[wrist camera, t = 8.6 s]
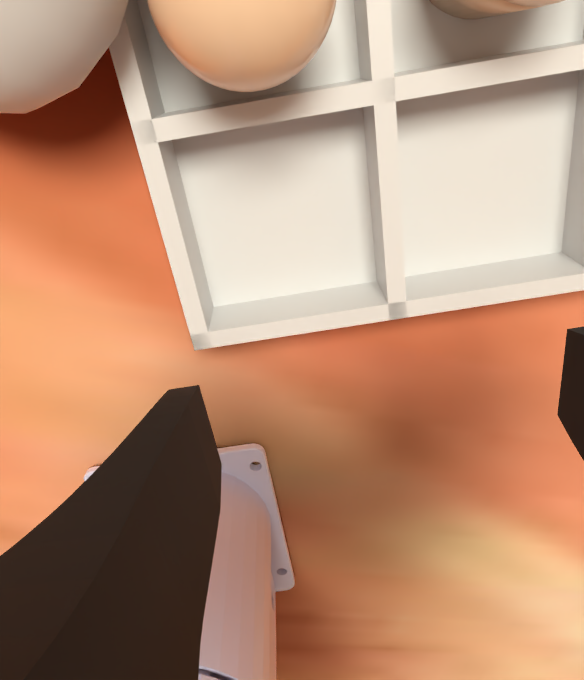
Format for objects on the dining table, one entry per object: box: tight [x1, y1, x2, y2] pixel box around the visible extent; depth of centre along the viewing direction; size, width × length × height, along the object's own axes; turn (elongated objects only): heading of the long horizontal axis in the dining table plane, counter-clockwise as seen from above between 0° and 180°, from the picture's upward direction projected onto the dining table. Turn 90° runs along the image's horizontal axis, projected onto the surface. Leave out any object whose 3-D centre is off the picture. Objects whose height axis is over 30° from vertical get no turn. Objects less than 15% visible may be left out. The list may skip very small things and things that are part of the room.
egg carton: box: [109, 0, 584, 350], centre depth 15 cm, size 14×20×2 cm
